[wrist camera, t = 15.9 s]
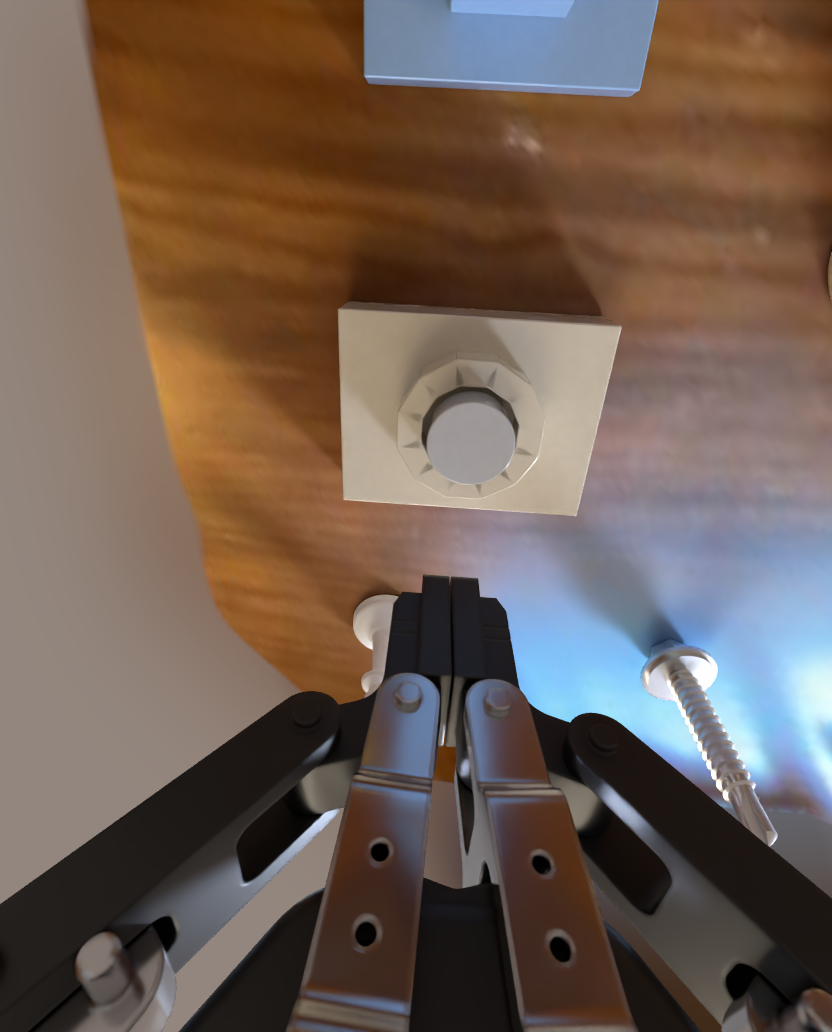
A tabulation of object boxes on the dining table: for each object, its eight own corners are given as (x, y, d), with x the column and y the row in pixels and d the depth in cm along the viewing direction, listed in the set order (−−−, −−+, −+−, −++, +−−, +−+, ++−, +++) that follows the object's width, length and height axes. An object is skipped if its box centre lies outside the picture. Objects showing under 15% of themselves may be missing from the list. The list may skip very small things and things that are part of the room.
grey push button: (425, 466, 25) (423, 482, 24) (430, 387, 23) (429, 398, 22) (505, 472, 25) (508, 488, 24) (517, 393, 23) (522, 405, 22)
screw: (630, 679, 37) (634, 630, 35) (699, 674, 37) (707, 624, 34) (709, 874, 26) (723, 820, 24) (810, 872, 26) (834, 817, 23)
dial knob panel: (350, 479, 30) (336, 516, 27) (347, 300, 26) (329, 313, 22) (566, 494, 30) (584, 533, 26) (606, 316, 25) (635, 332, 21)
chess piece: (342, 629, 37) (309, 755, 28) (372, 583, 34) (346, 703, 26) (401, 656, 38) (388, 785, 29) (435, 612, 35) (431, 738, 27)
